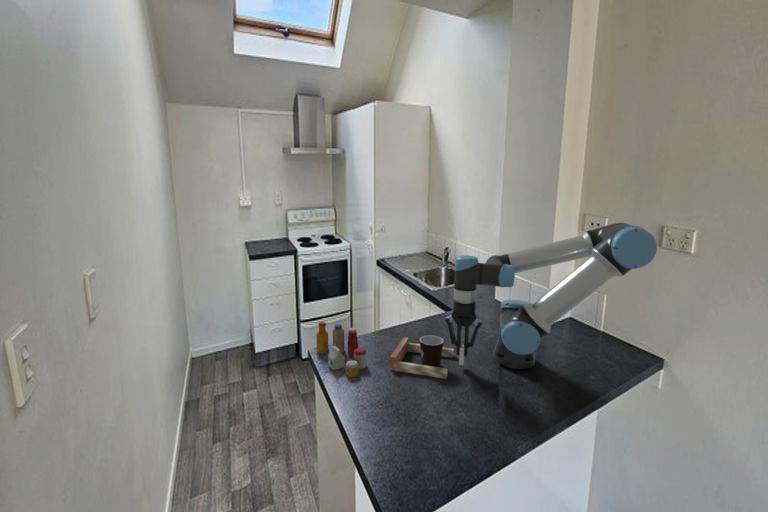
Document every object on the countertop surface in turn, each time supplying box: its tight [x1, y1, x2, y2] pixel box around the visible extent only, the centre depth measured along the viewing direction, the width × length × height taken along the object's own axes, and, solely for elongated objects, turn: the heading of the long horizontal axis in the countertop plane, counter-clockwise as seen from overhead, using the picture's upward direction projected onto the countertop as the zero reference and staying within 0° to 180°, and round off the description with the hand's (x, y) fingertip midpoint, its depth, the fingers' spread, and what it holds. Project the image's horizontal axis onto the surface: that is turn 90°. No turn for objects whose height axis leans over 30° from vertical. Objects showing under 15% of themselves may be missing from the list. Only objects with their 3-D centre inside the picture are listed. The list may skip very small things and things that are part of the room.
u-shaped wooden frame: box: [389, 337, 455, 379], centre depth 137 cm, size 20×18×5 cm
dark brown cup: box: [419, 334, 444, 368], centre depth 136 cm, size 12×9×10 cm
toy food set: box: [316, 321, 368, 378], centre depth 139 cm, size 27×13×12 cm, turn 32°
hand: (461, 363), depth 133 cm, fingers closed
